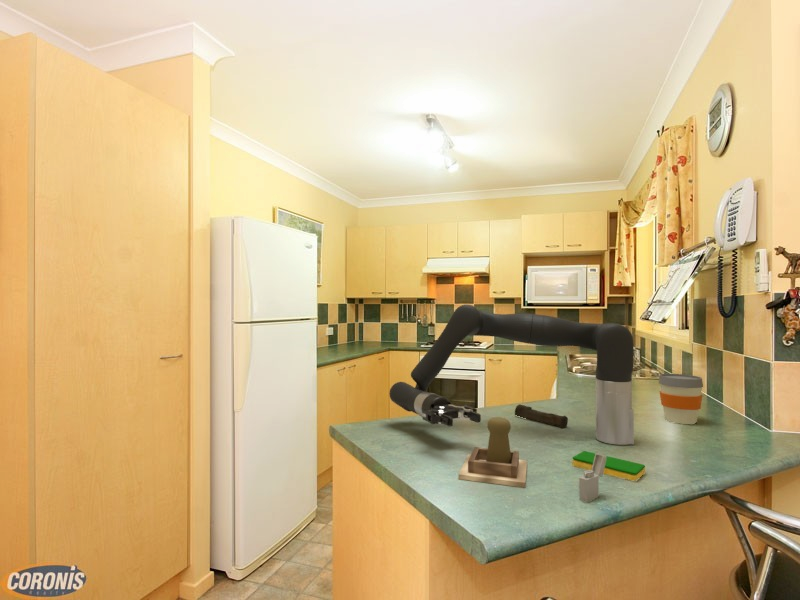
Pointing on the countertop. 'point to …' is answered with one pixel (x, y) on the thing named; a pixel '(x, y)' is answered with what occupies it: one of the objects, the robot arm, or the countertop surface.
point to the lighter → (592, 479)
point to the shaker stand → (494, 469)
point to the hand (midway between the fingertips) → (465, 420)
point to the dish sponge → (611, 466)
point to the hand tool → (541, 416)
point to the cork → (499, 441)
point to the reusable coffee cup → (680, 397)
